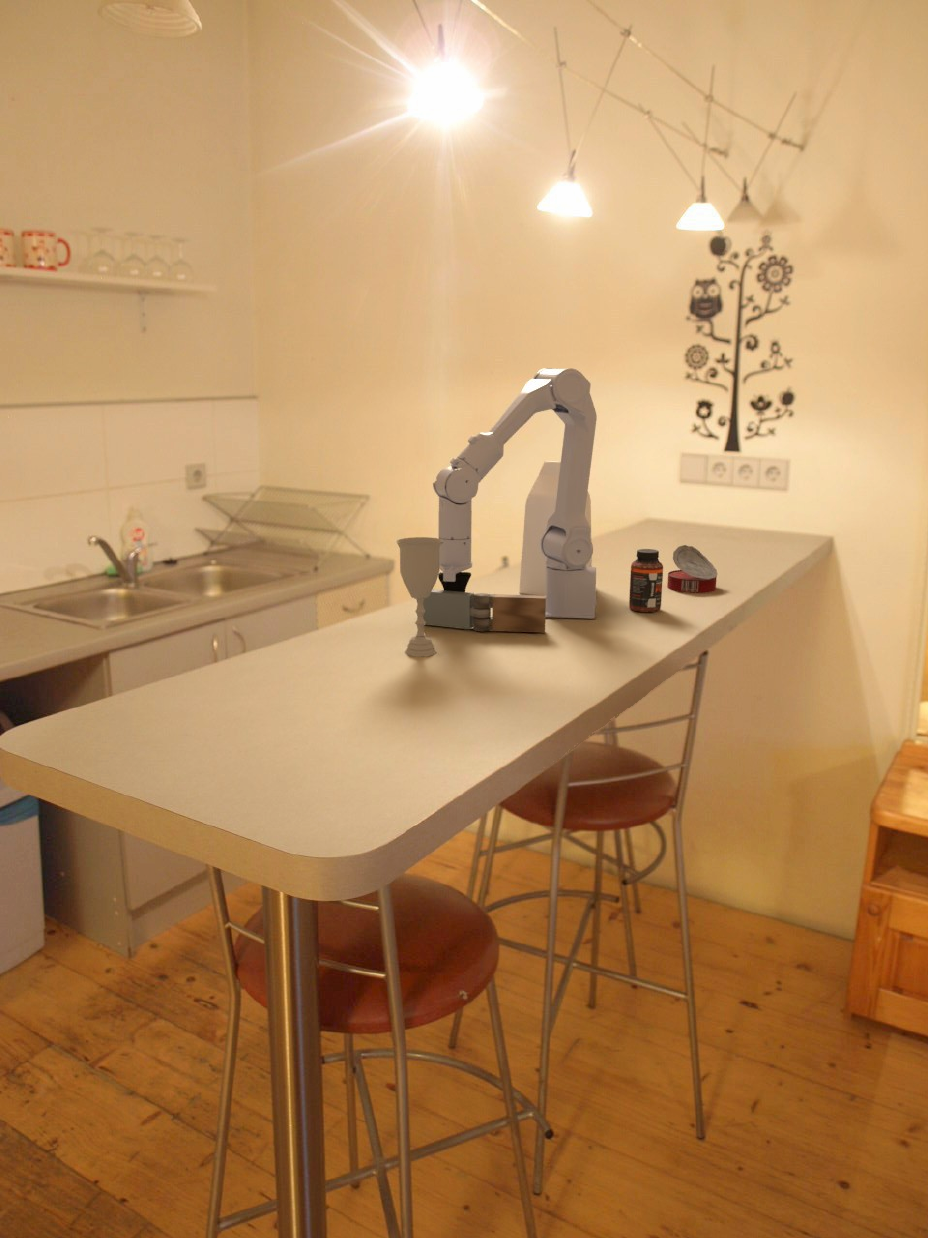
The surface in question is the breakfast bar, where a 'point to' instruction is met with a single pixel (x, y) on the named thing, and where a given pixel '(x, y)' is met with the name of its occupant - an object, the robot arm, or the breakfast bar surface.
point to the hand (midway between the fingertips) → (454, 613)
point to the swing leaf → (452, 609)
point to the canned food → (691, 572)
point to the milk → (540, 528)
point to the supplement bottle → (646, 582)
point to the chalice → (419, 583)
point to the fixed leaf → (511, 612)
